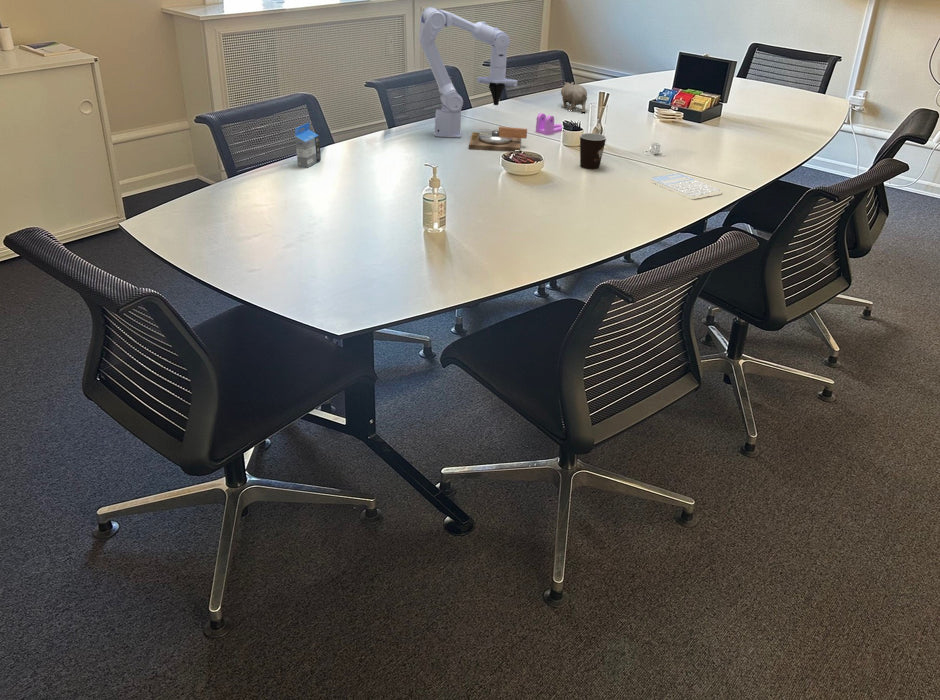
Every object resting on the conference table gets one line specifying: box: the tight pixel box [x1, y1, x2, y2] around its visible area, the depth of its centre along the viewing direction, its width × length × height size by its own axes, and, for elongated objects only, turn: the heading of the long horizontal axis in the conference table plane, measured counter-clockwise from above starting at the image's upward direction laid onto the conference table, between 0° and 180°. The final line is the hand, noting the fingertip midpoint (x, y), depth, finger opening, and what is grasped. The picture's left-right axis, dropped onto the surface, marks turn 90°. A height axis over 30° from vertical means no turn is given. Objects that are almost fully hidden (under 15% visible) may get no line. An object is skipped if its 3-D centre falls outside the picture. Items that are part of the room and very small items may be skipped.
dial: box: [479, 126, 528, 144], centre depth 290 cm, size 17×12×4 cm
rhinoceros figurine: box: [560, 81, 588, 113], centre depth 340 cm, size 9×15×17 cm
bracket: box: [535, 112, 563, 136], centre depth 309 cm, size 13×6×7 cm, turn 135°
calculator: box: [649, 172, 721, 197], centre depth 258 cm, size 13×20×2 cm, turn 31°
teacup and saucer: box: [646, 142, 661, 155], centre depth 289 cm, size 9×8×4 cm
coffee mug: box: [579, 132, 607, 170], centre depth 272 cm, size 12×9×10 cm
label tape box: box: [294, 121, 322, 169], centre depth 261 cm, size 9×4×12 cm, turn 160°
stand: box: [468, 132, 522, 152], centre depth 291 cm, size 18×16×3 cm
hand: (496, 104), depth 300 cm, fingers closed
